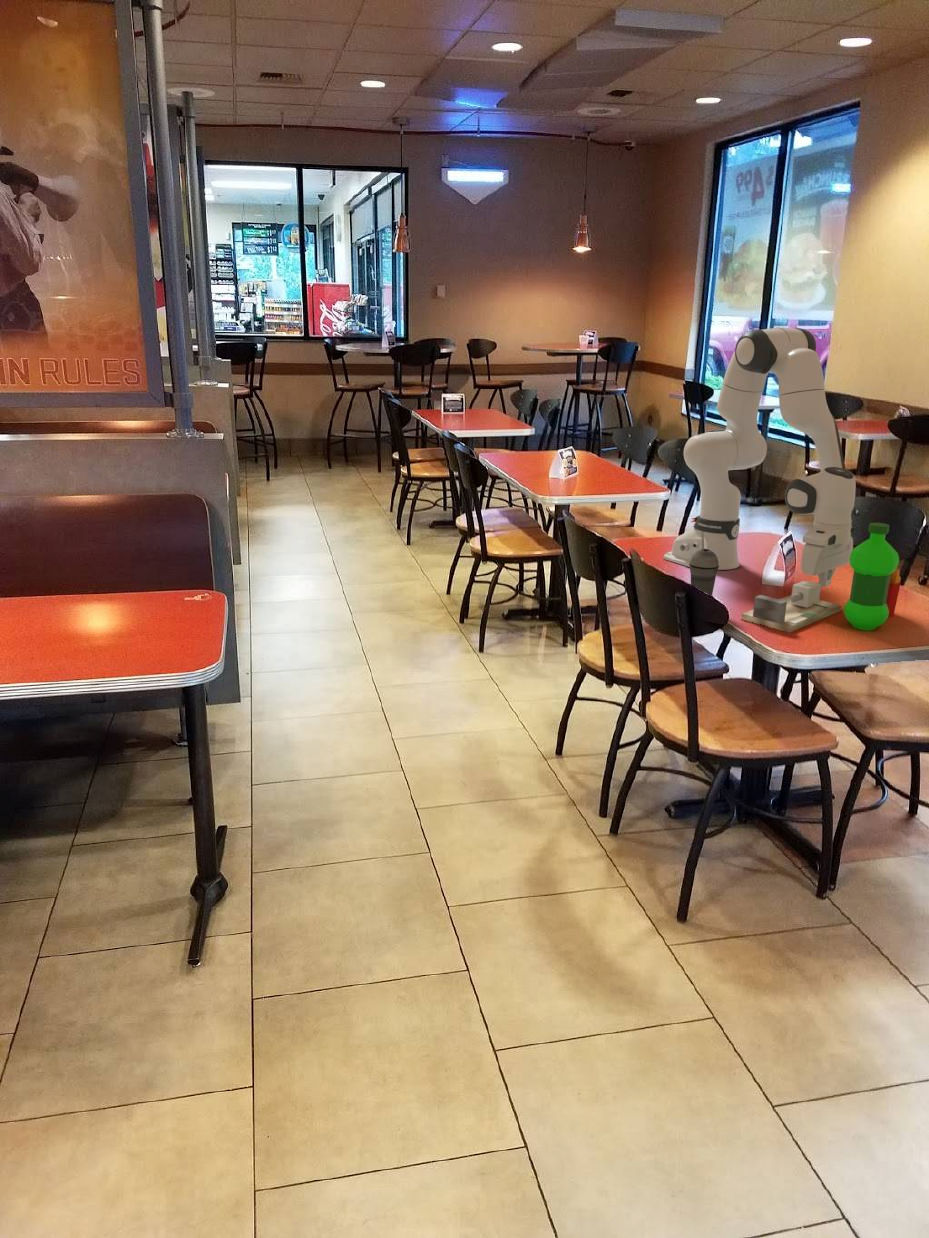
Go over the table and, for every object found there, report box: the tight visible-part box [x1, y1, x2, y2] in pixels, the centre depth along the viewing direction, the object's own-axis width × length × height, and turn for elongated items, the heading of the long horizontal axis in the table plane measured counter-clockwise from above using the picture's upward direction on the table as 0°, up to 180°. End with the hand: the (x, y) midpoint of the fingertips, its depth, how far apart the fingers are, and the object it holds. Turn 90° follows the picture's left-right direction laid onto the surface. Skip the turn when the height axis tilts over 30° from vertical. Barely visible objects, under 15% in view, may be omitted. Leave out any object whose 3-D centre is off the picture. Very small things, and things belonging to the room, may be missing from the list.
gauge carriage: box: [790, 579, 828, 608], centre depth 228 cm, size 8×9×5 cm
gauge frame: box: [741, 594, 843, 634], centre depth 227 cm, size 13×25×6 cm, turn 132°
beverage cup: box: [689, 531, 719, 596], centre depth 229 cm, size 7×7×20 cm
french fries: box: [886, 569, 902, 618], centre depth 228 cm, size 8×4×12 cm, turn 8°
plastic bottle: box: [843, 522, 900, 631], centre depth 216 cm, size 10×10×25 cm
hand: (824, 585), depth 236 cm, fingers closed
